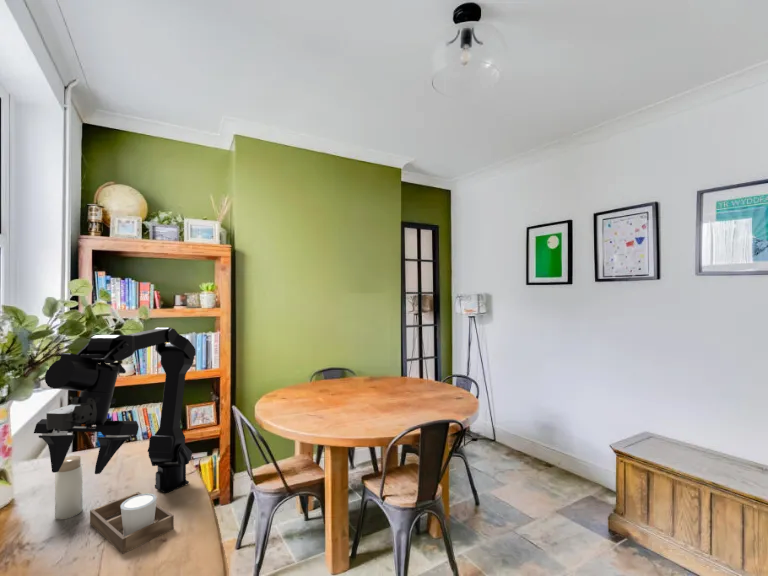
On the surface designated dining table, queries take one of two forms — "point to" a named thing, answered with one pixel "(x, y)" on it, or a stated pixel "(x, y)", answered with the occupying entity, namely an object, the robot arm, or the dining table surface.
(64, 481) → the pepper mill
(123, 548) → the walnut caddy
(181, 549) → the dining table surface
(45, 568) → the dining table surface
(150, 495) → the white cup
